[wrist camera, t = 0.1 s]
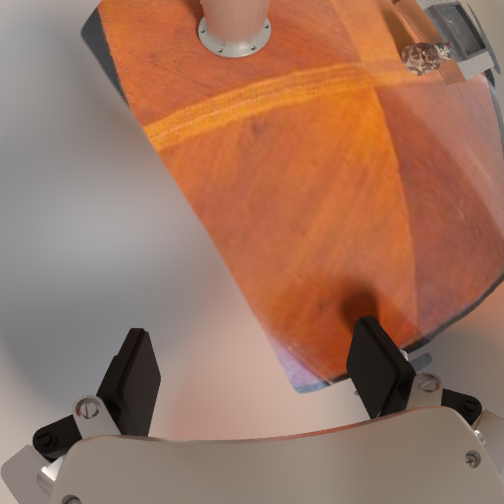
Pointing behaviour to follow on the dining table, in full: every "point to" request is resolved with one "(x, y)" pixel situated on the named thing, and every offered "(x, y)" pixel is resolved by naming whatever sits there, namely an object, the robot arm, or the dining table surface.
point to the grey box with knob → (449, 36)
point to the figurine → (425, 57)
